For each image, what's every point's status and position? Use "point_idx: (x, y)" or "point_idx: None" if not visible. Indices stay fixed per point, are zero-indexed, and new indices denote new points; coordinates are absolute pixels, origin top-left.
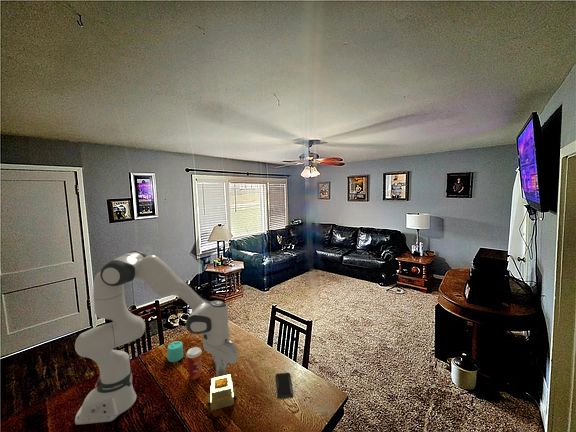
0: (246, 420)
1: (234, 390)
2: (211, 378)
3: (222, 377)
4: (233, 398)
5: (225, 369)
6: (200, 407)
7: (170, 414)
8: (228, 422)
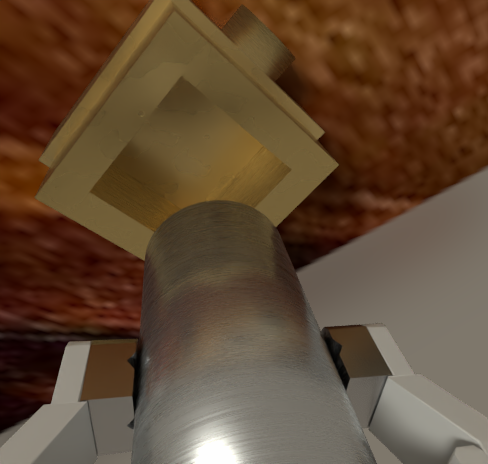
0: (446, 149)
1: (280, 64)
2: (36, 197)
3: (130, 115)
4: (319, 126)
5: (290, 260)
6: (113, 246)
7: (12, 357)
8: (350, 215)
